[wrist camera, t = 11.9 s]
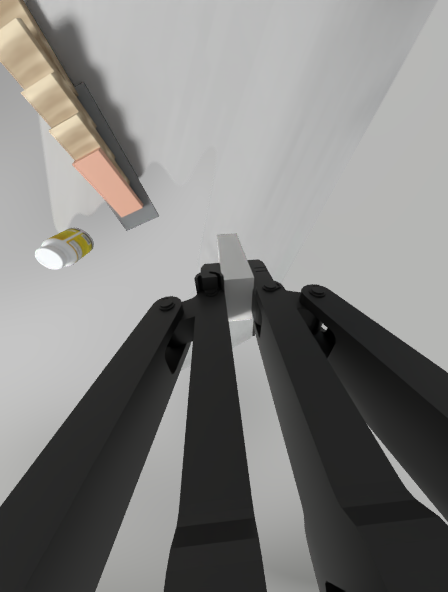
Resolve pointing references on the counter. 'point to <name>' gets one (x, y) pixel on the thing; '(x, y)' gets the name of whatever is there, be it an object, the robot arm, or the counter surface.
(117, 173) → the domino
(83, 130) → the domino
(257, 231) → the counter surface
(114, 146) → the mat
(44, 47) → the domino
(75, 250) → the pill bottle
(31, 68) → the domino
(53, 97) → the domino
